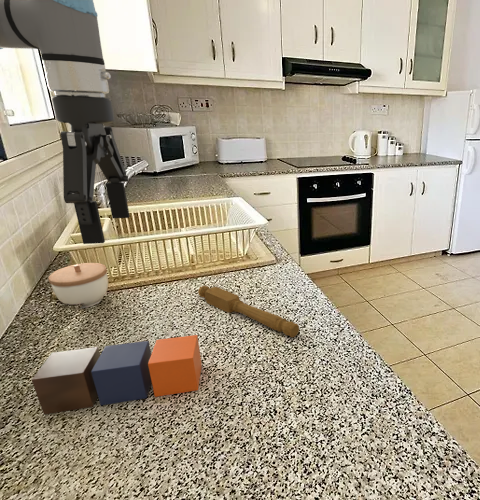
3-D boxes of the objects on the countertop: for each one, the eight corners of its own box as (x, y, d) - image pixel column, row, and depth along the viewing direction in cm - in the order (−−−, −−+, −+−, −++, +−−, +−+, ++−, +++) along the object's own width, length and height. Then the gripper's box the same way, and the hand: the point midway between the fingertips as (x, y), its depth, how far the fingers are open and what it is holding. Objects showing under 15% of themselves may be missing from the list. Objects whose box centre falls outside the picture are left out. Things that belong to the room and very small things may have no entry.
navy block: (100, 405, 58) (90, 371, 55) (113, 377, 63) (105, 345, 61) (146, 398, 59) (139, 364, 57) (155, 371, 65) (148, 340, 63)
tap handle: (290, 328, 73) (194, 286, 88) (290, 341, 74) (196, 298, 90) (300, 321, 76) (205, 282, 91) (300, 333, 77) (207, 293, 92)
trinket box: (46, 307, 84) (34, 269, 80) (92, 288, 93) (83, 253, 90) (78, 318, 80) (67, 279, 77) (123, 296, 89) (115, 260, 86)
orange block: (154, 397, 60) (147, 363, 57) (162, 370, 65) (156, 339, 63) (198, 390, 61) (193, 357, 59) (201, 365, 67) (197, 334, 65)
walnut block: (43, 414, 56) (31, 379, 53) (62, 385, 62) (51, 352, 59) (93, 406, 57) (83, 372, 55) (106, 378, 63) (98, 346, 61)
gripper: (75, 95, 46) (109, 255, 54) (132, 96, 68) (150, 209, 76) (2, 92, 44) (48, 258, 52) (85, 94, 66) (108, 210, 74)
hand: (109, 229), depth 64 cm, fingers open, 13 cm apart
